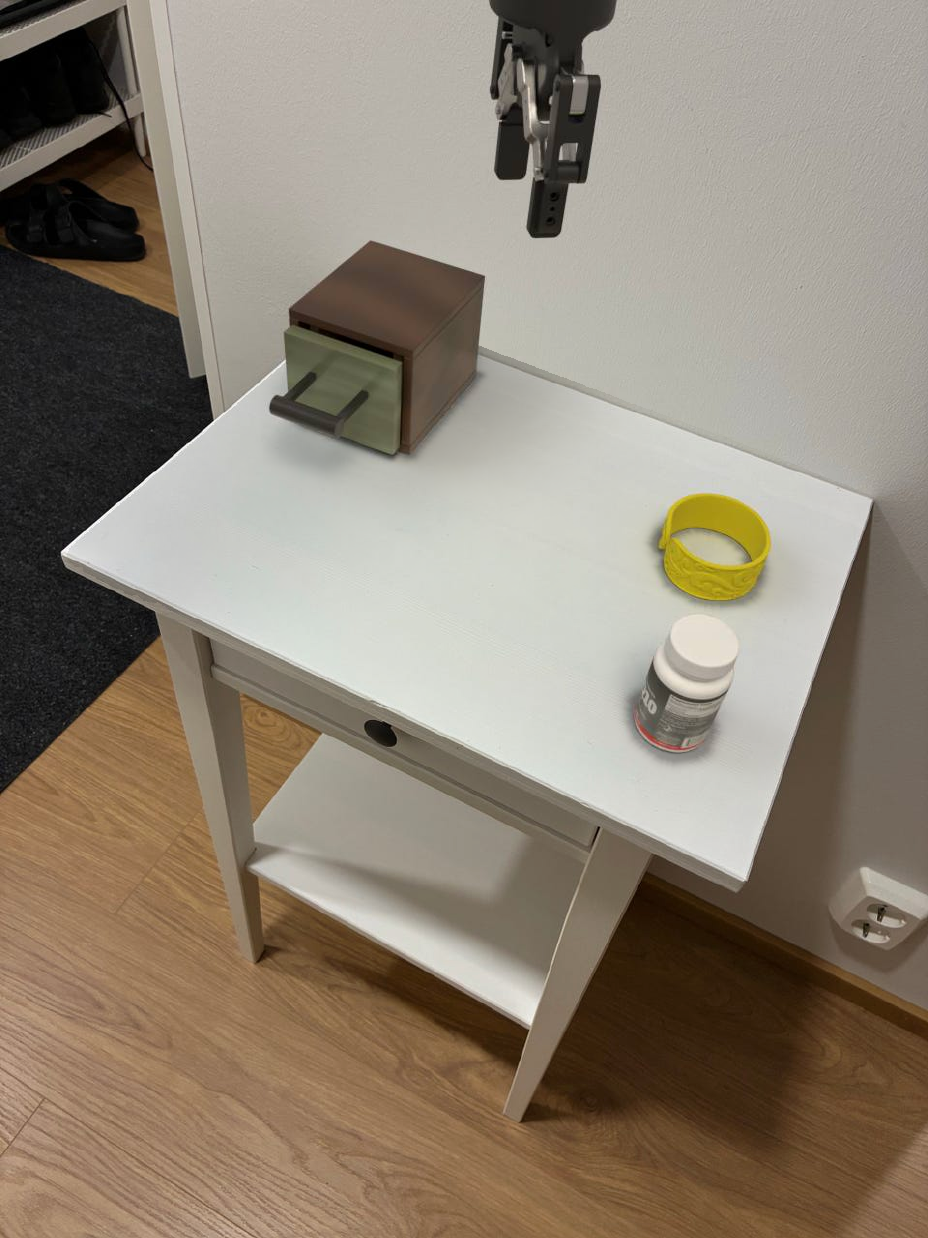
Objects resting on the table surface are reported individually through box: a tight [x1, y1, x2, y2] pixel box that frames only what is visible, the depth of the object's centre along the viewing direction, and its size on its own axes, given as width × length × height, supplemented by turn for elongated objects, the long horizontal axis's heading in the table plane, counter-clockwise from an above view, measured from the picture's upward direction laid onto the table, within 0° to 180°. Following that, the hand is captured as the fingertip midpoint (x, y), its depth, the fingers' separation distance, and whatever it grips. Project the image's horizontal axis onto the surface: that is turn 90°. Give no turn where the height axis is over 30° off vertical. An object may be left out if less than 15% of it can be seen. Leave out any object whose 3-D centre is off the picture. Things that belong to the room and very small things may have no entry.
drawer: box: [268, 325, 404, 456], centre depth 76 cm, size 17×9×8 cm, turn 154°
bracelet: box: [658, 492, 772, 602], centre depth 70 cm, size 7×8×3 cm
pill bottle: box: [634, 613, 741, 753], centre depth 58 cm, size 5×5×8 cm
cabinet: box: [288, 240, 486, 455], centre depth 79 cm, size 13×11×10 cm
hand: (525, 205), depth 66 cm, fingers open, 8 cm apart
